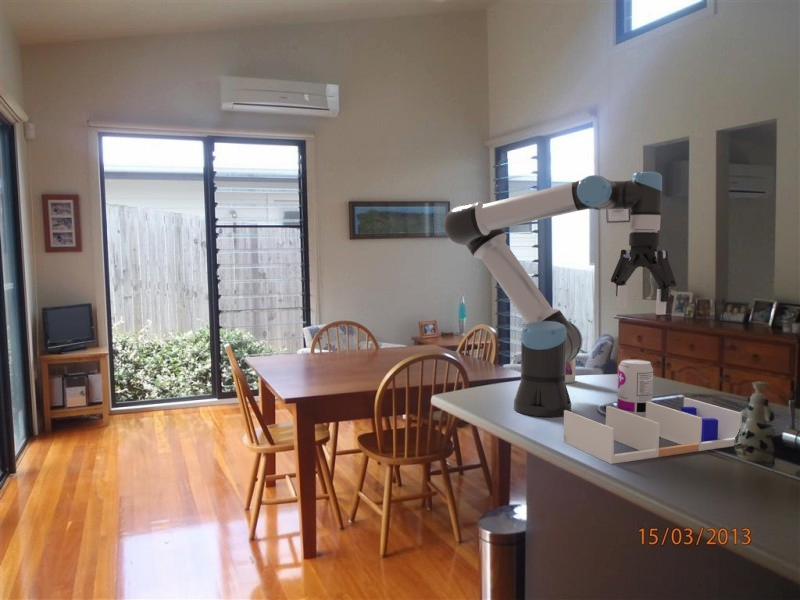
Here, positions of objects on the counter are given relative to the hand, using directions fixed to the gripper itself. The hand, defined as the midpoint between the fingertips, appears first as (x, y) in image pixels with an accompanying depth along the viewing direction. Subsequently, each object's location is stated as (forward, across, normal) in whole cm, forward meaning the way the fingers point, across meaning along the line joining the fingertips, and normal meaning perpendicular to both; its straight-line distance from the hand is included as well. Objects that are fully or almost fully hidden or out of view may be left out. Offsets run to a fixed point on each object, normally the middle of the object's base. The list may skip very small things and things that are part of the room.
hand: (640, 311), depth 170 cm
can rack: (+26, -24, +20) cm, 41 cm away
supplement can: (+27, -8, +9) cm, 29 cm away
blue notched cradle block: (+27, -25, +8) cm, 38 cm away
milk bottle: (+27, +38, -7) cm, 47 cm away
